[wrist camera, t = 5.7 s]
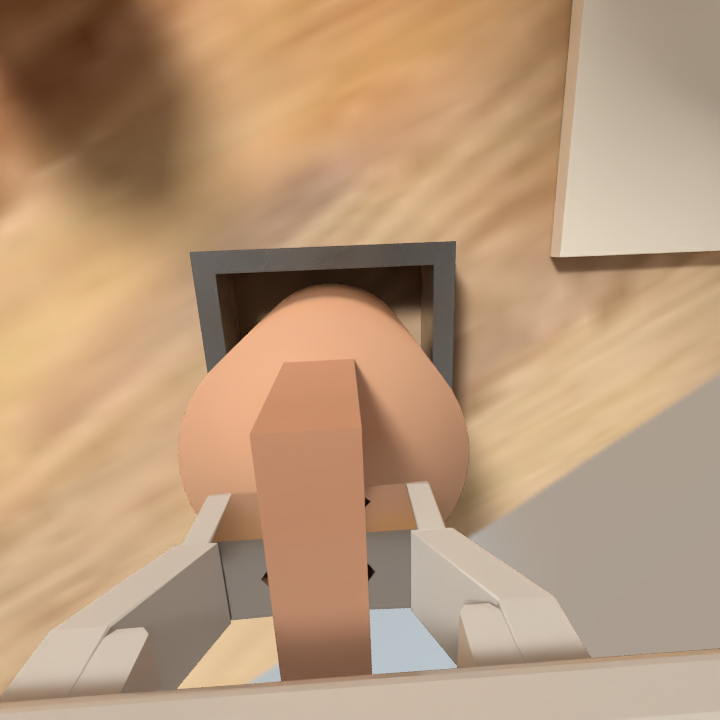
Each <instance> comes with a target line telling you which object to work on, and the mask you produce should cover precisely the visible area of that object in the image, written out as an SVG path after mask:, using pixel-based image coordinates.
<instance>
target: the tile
mask: <svg viewBox="0 0 720 720" xmlns="http://www.w3.org/2000/svg"><path fill="white" fill-rule="evenodd" d="M696 251H720V0H573V3H572V14H571V26H570V37H569V49H568V60H567V72H566V83H565V95H564V106H563V118H562V129H561V141H560V152H559V164H558V175H557V187H556V198H555V209H554V221H553V232H552V244H551V255H550V257H578V256H602V255H625V254H649V253H673V252H696Z"/></svg>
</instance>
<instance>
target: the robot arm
mask: <svg viewBox="0 0 720 720" xmlns="http://www.w3.org/2000/svg"><path fill="white" fill-rule="evenodd" d="M364 496H365V520H366V544H367V568H368V592H369V609H391V608H411V610H412V611H413V613H414V614H415V615H416V616H417V618H418V619H419V620H420V621H421V622H422V624H423V625H424V626H425V627H426V628H427V630H428V631H429V632H430V633H431V635H432V636H433V637H434V638H435V640H436V641H437V642H438V643H439V644H440V646H441V647H442V648H443V649H444V650H445V652H446V653H447V654H448V655H449V657H450V658H451V659H452V660H453V661H454V663H455V664H456V665H457V668H455V669H442V670H427V671H414V672H400V673H386V674H372V675H359V676H346V677H333V678H319V679H306V680H293V681H280V682H267V683H254V684H241V685H227V686H214V687H201V688H188V689H177V688H178V686H179V685H180V684H181V683H182V682H183V680H184V679H185V678H186V677H187V676H188V674H189V673H190V672H191V671H192V669H193V668H194V667H195V666H196V665H197V663H198V662H199V661H200V660H201V659H202V657H203V656H204V655H205V654H206V653H207V651H208V650H209V649H210V648H211V647H212V645H213V644H214V643H215V642H216V640H217V639H218V638H219V637H220V636H221V634H222V633H223V632H224V631H225V630H226V628H227V627H228V626H229V625H230V624H231V620H239V619H249V618H259V617H269V616H273V613H272V605H271V598H270V590H269V582H268V574H267V567H266V559H265V551H264V543H263V535H262V528H261V520H260V512H259V504H258V497H257V492H241V493H221V494H211V495H209V496H208V497H207V498H206V500H205V502H204V504H203V506H202V508H201V510H200V512H199V514H198V515H197V517H196V519H195V521H194V523H193V525H192V527H191V529H190V530H189V532H188V534H187V536H186V538H185V540H184V542H183V544H182V545H174V546H173V547H172V548H170V549H169V550H167V551H166V552H164V553H163V554H161V555H160V556H158V557H157V558H156V559H154V560H153V561H151V562H150V563H148V564H147V565H145V566H144V567H142V568H141V569H140V570H138V571H137V572H135V573H134V574H132V575H131V576H129V577H128V578H126V579H125V580H124V581H122V582H121V583H119V584H118V585H116V586H115V587H113V588H112V589H110V590H109V591H108V592H106V593H105V594H103V595H102V596H100V597H99V598H97V599H96V600H94V601H93V602H92V603H90V604H89V605H87V606H86V607H84V608H83V609H81V610H80V611H78V612H77V613H76V614H74V615H73V616H71V617H70V618H68V619H67V620H65V621H64V622H62V623H61V624H60V625H58V626H57V627H55V628H54V629H52V630H51V631H49V633H48V634H47V635H46V637H45V638H44V639H43V641H42V642H41V643H40V645H39V646H38V647H37V649H36V650H35V651H34V653H33V654H32V655H31V657H30V658H29V659H28V661H27V662H26V663H25V665H24V666H23V667H22V669H21V670H20V671H19V673H18V674H17V675H16V677H15V678H14V679H13V681H12V682H11V683H10V685H9V686H8V687H7V689H6V690H5V691H4V693H3V694H2V695H1V696H0V720H720V648H719V649H706V650H692V651H679V652H666V653H653V654H640V655H628V656H627V655H626V656H613V657H601V658H591V657H590V655H589V654H588V652H587V650H586V648H585V647H584V645H583V644H582V642H581V640H580V639H579V637H578V635H577V633H576V632H575V630H574V628H573V627H572V625H571V624H570V622H569V620H568V619H567V617H566V615H565V614H564V612H563V610H562V609H561V607H560V605H559V603H558V602H557V600H556V598H555V597H554V596H552V595H551V594H550V593H548V592H547V591H545V590H544V589H542V588H541V587H539V586H537V585H536V584H535V583H533V582H532V581H530V580H529V579H527V578H526V577H524V576H523V575H522V574H520V573H519V572H517V571H516V570H514V569H513V568H511V567H510V566H508V565H507V564H505V563H504V562H502V561H501V560H499V559H498V558H497V557H495V556H494V555H492V554H491V553H489V552H488V551H486V550H485V549H483V548H482V547H480V546H479V545H477V544H476V543H474V542H473V541H472V540H470V539H469V538H467V537H466V536H464V535H463V534H461V533H460V532H458V531H457V530H455V529H454V528H446V527H445V524H444V522H443V519H442V516H441V514H440V511H439V508H438V506H437V503H436V500H435V497H434V495H433V492H432V489H431V487H430V484H429V482H427V481H419V482H409V483H401V484H389V485H377V486H364Z"/></svg>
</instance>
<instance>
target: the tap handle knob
mask: <svg viewBox="0 0 720 720" xmlns="http://www.w3.org/2000/svg"><path fill="white" fill-rule="evenodd" d="M178 459H179V468H180V475H181V478H182V482H183V486H184V490H185V492H186V494H187V497H188V499H189V501H190V504H191V506H192V507H193V509H194V511H195V512H196V514H197V515H198V514H199V512H200V510H201V508H202V506H203V504H204V502H205V500H206V498H207V497H208V496H209V495H211V494H221V493H241V492H257V497H258V504H259V512H260V520H261V528H262V535H263V543H264V551H265V559H266V567H267V574H268V582H269V590H270V598H271V605H272V613H273V621H274V629H275V636H276V644H277V652H278V660H279V668H280V675H281V681H293V680H306V679H319V678H333V677H346V676H359V675H372V668H371V667H372V665H371V640H370V620H369V619H370V617H369V592H368V568H367V544H366V520H365V496H364V486H377V485H389V484H401V483H409V482H419V481H427V482H429V484H430V487H431V489H432V492H433V495H434V497H435V500H436V503H437V506H438V508H439V511H440V514H441V516H442V519H443V522H444V523H445V522H446V521H447V519H448V518H449V516H450V515H451V513H452V511H453V509H454V508H455V506H456V504H457V502H458V500H459V497H460V495H461V492H462V490H463V487H464V483H465V479H466V476H467V471H468V462H469V438H468V433H467V427H466V422H465V419H464V416H463V413H462V410H461V407H460V405H459V403H458V401H457V399H456V397H455V395H454V393H453V391H452V389H451V388H450V387H449V385H448V384H447V382H446V381H445V380H444V378H443V377H442V375H441V374H440V373H439V371H438V370H437V369H436V367H435V366H434V365H433V363H432V362H431V361H430V359H429V358H428V357H427V355H426V354H425V353H424V351H423V350H422V349H421V347H420V346H419V345H418V343H417V342H416V341H415V339H414V338H413V337H412V335H411V334H410V333H409V331H408V330H407V329H406V327H405V326H404V325H403V323H402V322H401V321H400V319H399V318H398V317H397V315H396V314H395V313H394V312H393V311H392V309H391V308H390V307H389V306H388V305H387V304H386V303H384V302H383V301H382V300H381V299H380V298H378V297H377V296H375V295H373V294H372V293H370V292H368V291H366V290H364V289H361V288H359V287H355V286H352V285H347V284H341V283H324V284H317V285H313V286H308V287H306V288H303V289H300V290H298V291H296V292H294V293H292V294H291V295H289V296H287V297H286V298H285V299H283V300H282V301H281V302H280V303H279V304H277V305H276V306H275V307H274V308H273V309H272V310H271V311H270V312H269V313H268V314H267V315H266V316H265V317H264V318H263V319H262V320H261V321H260V322H259V323H258V324H257V325H256V326H255V327H254V328H253V329H252V330H251V331H250V332H249V333H248V334H247V335H246V336H245V337H244V338H243V339H242V340H241V341H240V342H239V343H238V344H237V345H236V346H235V347H234V348H233V349H232V350H231V351H230V352H229V353H228V354H227V355H226V356H225V357H224V358H223V359H222V360H221V361H220V362H219V363H218V364H217V365H216V366H215V367H214V368H213V369H212V370H211V371H210V372H209V373H208V374H207V375H206V377H205V378H204V379H203V381H202V382H201V383H200V385H199V386H198V387H197V389H196V391H195V393H194V394H193V396H192V398H191V400H190V402H189V404H188V406H187V409H186V412H185V415H184V418H183V420H182V425H181V430H180V435H179V448H178Z"/></svg>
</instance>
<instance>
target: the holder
mask: <svg viewBox="0 0 720 720" xmlns="http://www.w3.org/2000/svg"><path fill="white" fill-rule="evenodd" d="M190 258H191V265H192V272H193V278H194V285H195V292H196V298H197V305H198V312H199V318H200V325H201V332H202V338H203V345H204V352H205V358H206V365H207V372H208V373H209V372H210V371H211V370H212V369H213V368H214V367H215V366H216V365H217V364H218V363H219V362H220V361H221V360H222V359H223V358H224V357H225V356H226V355H227V354H228V353H229V352H230V351H231V350H232V349H233V348H234V347H235V346H236V345H237V344H238V343H239V342H240V341H241V336H240V328H239V320H238V312H237V303H236V295H235V287H234V279H233V273H251V272H275V271H298V270H322V269H345V268H369V267H392V266H416V265H421V349H422V350H423V351H424V353H425V354H426V355H427V357H428V358H429V359H430V361H431V362H432V363H433V365H434V366H435V367H436V369H437V370H438V371H439V373H440V374H441V375H442V377H443V378H444V380H445V381H446V382H447V384H448V385H449V387H450V388H451V389H452V379H453V338H454V298H455V258H456V241H451V242H426V243H402V244H377V245H353V246H328V247H304V248H279V249H254V250H230V251H205V252H190Z"/></svg>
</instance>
